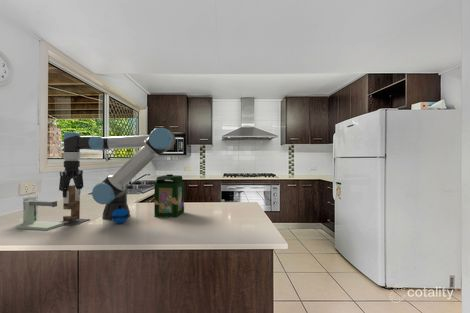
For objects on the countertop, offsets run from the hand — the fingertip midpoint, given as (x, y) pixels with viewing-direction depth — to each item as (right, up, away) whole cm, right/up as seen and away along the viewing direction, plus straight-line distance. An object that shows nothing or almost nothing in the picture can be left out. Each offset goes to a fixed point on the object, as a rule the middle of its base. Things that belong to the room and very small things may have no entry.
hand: (71, 201), depth 144 cm
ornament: (+27, -12, -1) cm, 30 cm away
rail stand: (-11, -11, -8) cm, 18 cm away
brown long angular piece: (0, -10, 0) cm, 10 cm away
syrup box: (-22, -11, 0) cm, 25 cm away
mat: (0, -11, +1) cm, 11 cm away
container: (+48, -12, +20) cm, 54 cm away
